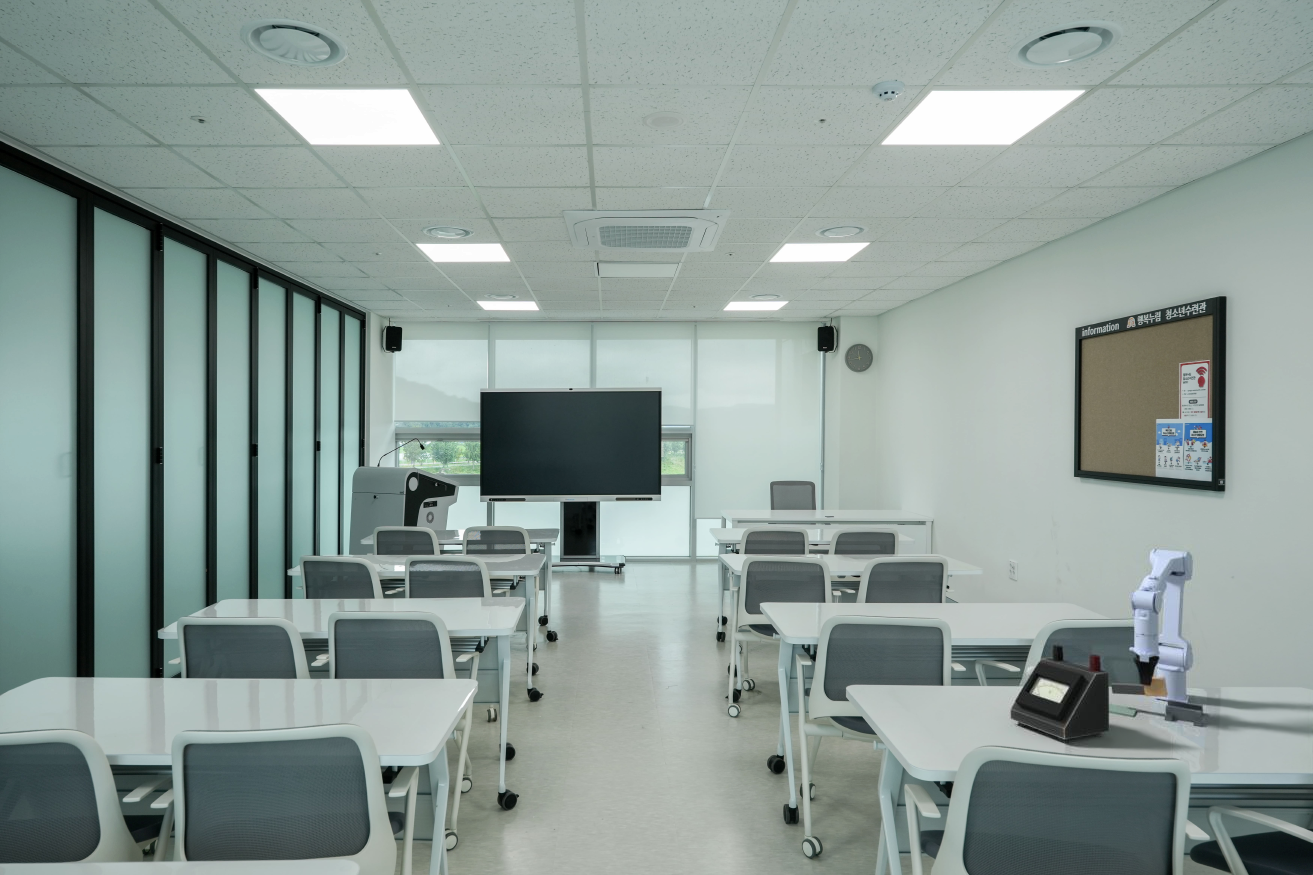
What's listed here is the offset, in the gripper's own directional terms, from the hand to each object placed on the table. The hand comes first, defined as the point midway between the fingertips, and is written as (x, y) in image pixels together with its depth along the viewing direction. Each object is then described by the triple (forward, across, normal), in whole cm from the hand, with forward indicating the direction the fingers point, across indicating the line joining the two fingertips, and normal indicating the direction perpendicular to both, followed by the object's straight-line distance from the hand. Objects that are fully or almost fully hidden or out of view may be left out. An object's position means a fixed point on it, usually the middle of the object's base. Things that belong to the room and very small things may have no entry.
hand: (1146, 683), depth 211 cm
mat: (+8, +2, -7) cm, 11 cm away
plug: (+3, 0, -2) cm, 4 cm away
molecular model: (+9, +13, -24) cm, 29 cm away
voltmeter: (+9, +32, -17) cm, 37 cm away
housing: (+8, -4, +8) cm, 13 cm away
